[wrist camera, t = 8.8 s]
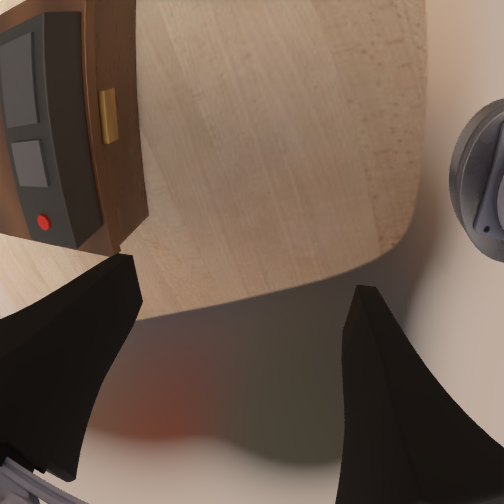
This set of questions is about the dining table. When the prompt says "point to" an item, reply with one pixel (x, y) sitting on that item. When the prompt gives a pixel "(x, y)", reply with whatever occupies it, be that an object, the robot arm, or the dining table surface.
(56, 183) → the remote
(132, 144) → the box
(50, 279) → the dining table surface
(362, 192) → the dining table surface
